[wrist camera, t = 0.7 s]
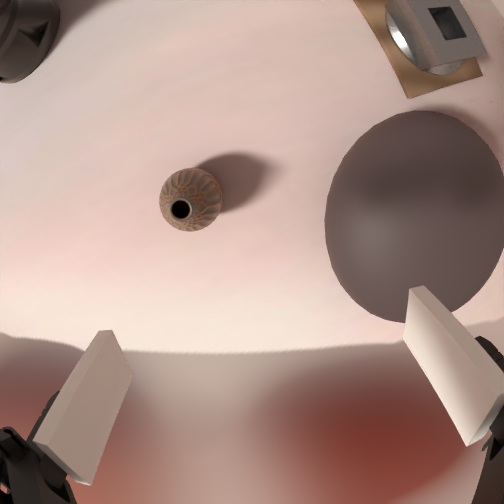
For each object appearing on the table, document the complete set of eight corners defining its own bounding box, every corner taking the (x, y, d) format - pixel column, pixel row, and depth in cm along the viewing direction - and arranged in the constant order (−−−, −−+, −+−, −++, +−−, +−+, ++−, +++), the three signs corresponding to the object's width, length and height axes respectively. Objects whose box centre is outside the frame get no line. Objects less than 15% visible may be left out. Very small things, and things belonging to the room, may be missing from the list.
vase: (203, 154, 34) (188, 158, 25) (236, 201, 36) (231, 219, 27) (159, 187, 35) (132, 201, 27) (191, 231, 37) (174, 257, 29)
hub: (367, 0, 25) (383, -17, 19) (433, -8, 23) (452, -20, 17) (414, 84, 29) (437, 78, 24) (473, 67, 27) (497, 63, 21)
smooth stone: (278, 156, 34) (297, 165, 20) (439, 94, 30) (513, 86, 16) (346, 316, 42) (379, 387, 28) (475, 247, 38) (535, 287, 24)
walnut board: (350, -4, 25) (352, -7, 24) (431, -14, 23) (434, -16, 22) (407, 98, 30) (411, 97, 29) (478, 76, 28) (482, 75, 27)
